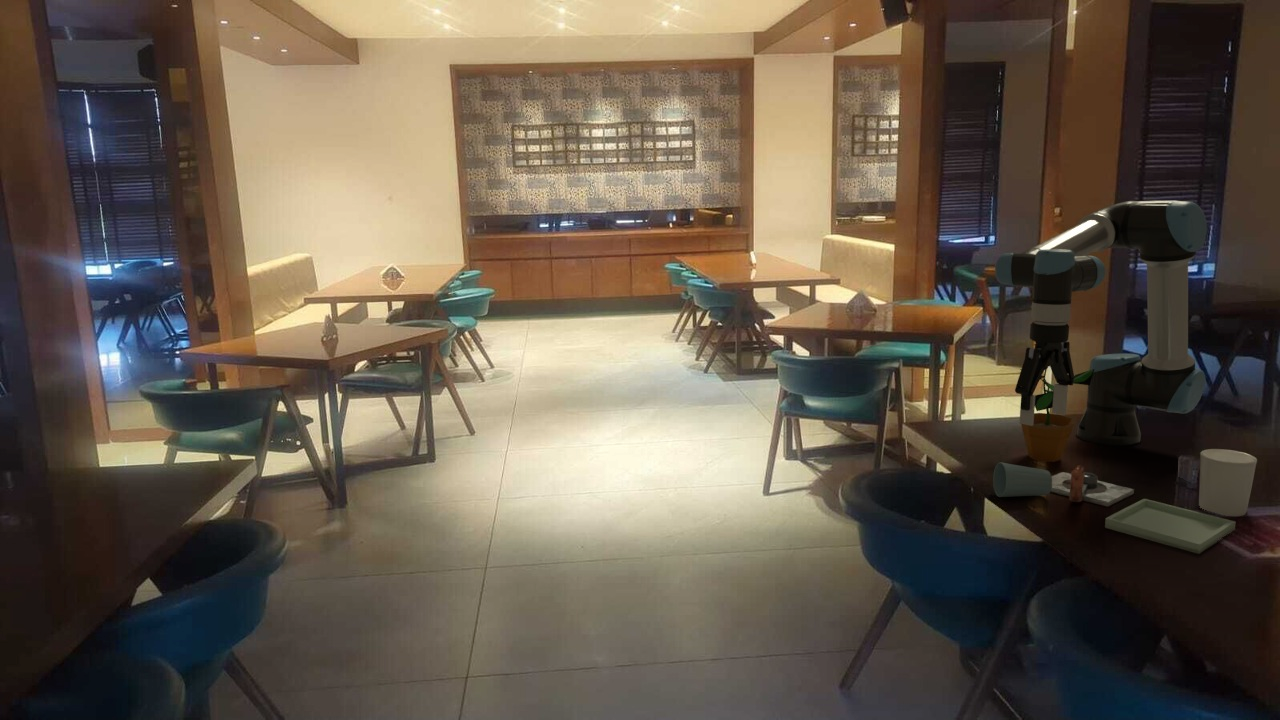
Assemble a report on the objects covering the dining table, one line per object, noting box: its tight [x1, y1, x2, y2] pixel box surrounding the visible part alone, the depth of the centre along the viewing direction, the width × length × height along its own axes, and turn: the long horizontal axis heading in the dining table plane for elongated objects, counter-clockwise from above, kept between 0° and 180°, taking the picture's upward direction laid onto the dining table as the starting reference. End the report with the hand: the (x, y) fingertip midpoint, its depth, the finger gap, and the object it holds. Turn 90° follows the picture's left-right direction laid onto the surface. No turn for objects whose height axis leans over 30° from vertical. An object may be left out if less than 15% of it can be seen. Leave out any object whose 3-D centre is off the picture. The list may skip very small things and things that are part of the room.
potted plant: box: [1019, 343, 1094, 463], centre depth 215 cm, size 18×19×30 cm
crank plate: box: [1050, 471, 1135, 507], centre depth 194 cm, size 12×16×1 cm
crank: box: [1068, 464, 1099, 503], centre depth 188 cm, size 16×5×7 cm, turn 144°
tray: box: [1104, 498, 1236, 555], centre depth 171 cm, size 17×17×2 cm
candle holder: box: [1198, 448, 1258, 517], centre depth 180 cm, size 10×10×12 cm
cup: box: [992, 461, 1052, 498], centre depth 190 cm, size 8×8×10 cm
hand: (1042, 418), depth 187 cm, fingers open, 13 cm apart
